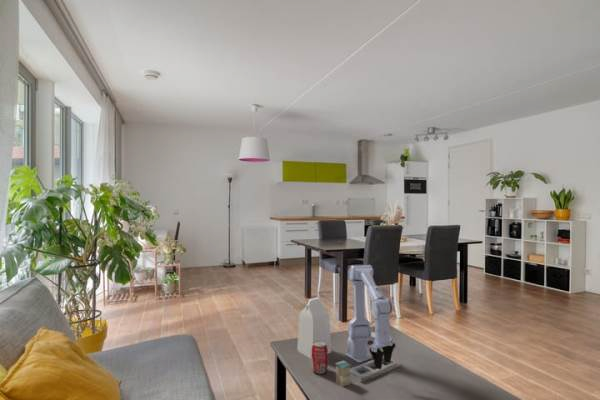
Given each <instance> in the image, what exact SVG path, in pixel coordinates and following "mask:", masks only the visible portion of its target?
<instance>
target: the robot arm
mask: <svg viewBox="0 0 600 400" xmlns="http://www.w3.org/2000/svg"><path fill="white" fill-rule="evenodd" d="M373 276H374V268H373V266H372V265H371V264H367V265H353V264H352V265H350V267H349V283H352V286H353V287H352V288H353V311H354V314H353V315H354V316H353V318H352V319H350V320H349V322H348V327H347V333H348V338H347V341H346V354H345V356H347V358H350V359H352V360H353V361H355V362H357V363H359V364H360V363H361V364H362V363H363V362H365V361H368V360H374V364H375V366H374V367H375V369H381V367H382V364H383V363H382V359H383V356H384V360H385V362H384V363H386V362H389V363H390V360H391V358H392V356H393V351H394V349H395V347H396V343H394V337H393V336H391V331H390V330H391V326H390V325H391V323H390V321H391V320H390V319H391V316H390V314H392V312H393V304H392V302H391V299H390V298H388V297H387V296H385V295H384V293H383V291H382V289H381V288H380V286H378V285H377V284H376V282H375V280H374V277H373ZM364 285H365V287H366V288H367V295H368V297H369V299H370V301H371V305H372V306H371V308H372V312H373V313H372V315H373V318H374V333H375V341H374V342H372V345H371V346H370V348H369V354H370V355H371V356H370V355H368V342H367V340H369V338H370V337H371V332H372V327H371V323H370V321H369V319H367V318H366V315H365V314H366V313H365V312H366V311H365V288H364ZM381 349H382V350H381Z"/></svg>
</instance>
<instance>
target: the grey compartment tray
mask: <svg viewBox="0 0 600 400" xmlns="http://www.w3.org/2000/svg"><path fill="white" fill-rule="evenodd" d="M384 363H386V364H384ZM372 367H373V368H372ZM374 367H375V364H374V360H373V359H370V361H367V362H364V363H361V364H359V365H356V366H354V367H350V378H353V379H354V380H355V381H356V382H359V383H360V384H361V383H363V382H366V381H368V380H371V379H372V378H373V379H374V378H376V377H378V376H381V375H382V374H385V373H387V372H390V371H392V370H394V369H397V368H398V367H400V361H398V360H397V359H395V358H392V357H391V360H390V363H389V362H385V360H384V355H383V359H382V367H381V369H378V368H375V369H374ZM361 372H364V374H361Z"/></svg>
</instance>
